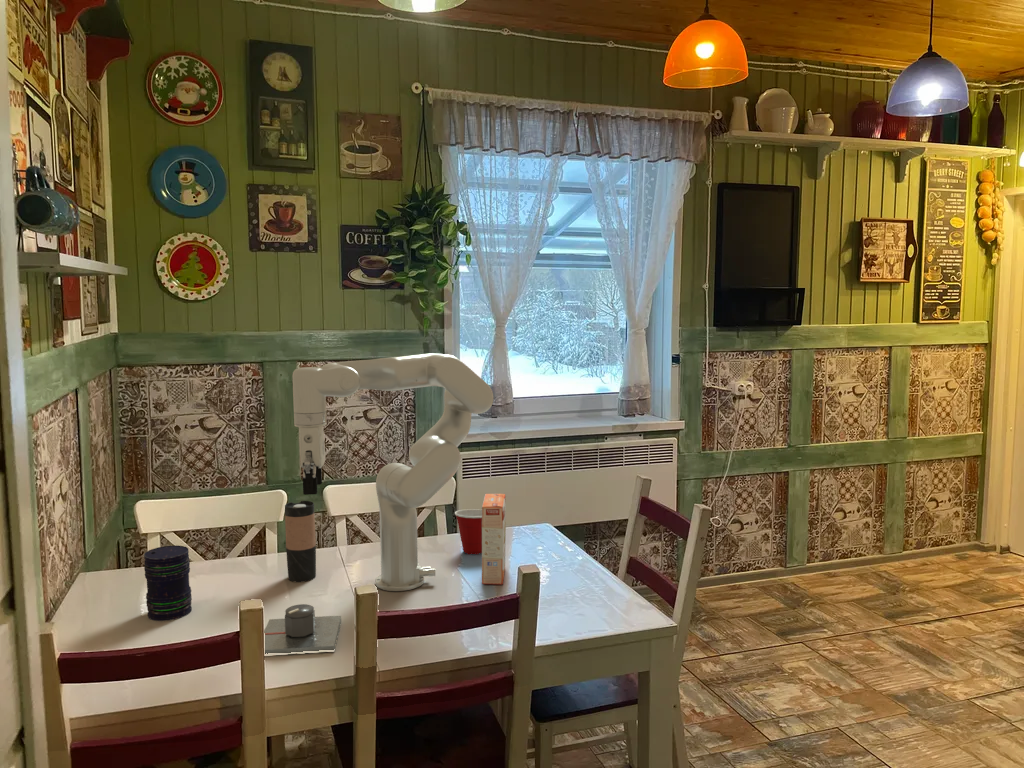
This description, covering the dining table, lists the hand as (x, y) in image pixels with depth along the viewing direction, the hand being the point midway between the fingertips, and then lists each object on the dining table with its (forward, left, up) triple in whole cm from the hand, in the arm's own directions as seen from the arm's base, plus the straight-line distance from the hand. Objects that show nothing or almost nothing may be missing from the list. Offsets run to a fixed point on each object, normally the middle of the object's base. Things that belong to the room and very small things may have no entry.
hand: (312, 489), depth 192 cm
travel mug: (+6, -18, -28) cm, 34 cm away
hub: (+1, +21, -28) cm, 35 cm away
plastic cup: (-41, -33, -28) cm, 60 cm away
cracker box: (-45, -12, -28) cm, 55 cm away
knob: (+1, +21, -26) cm, 34 cm away
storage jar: (+34, +2, -28) cm, 44 cm away
